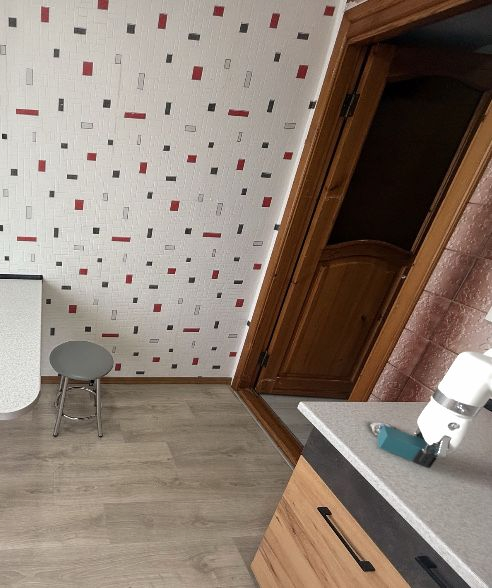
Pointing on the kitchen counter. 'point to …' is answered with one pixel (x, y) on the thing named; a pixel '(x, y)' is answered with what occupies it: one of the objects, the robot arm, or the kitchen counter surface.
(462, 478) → the kitchen counter surface
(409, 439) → the teal rectangular block
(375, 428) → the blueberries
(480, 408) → the robot arm
